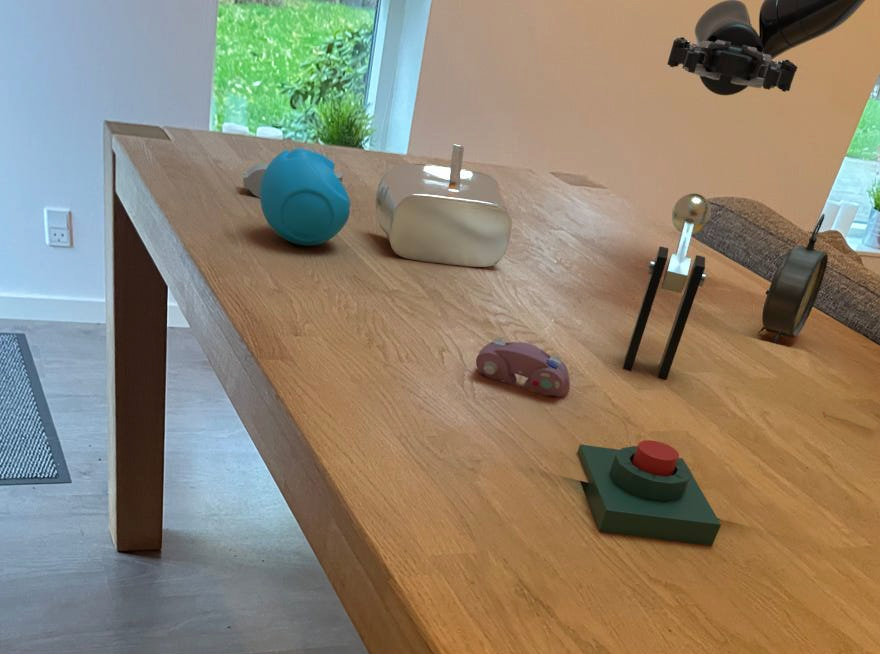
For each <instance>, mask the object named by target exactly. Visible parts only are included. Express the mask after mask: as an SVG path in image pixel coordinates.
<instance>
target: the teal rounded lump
mask: <svg viewBox="0 0 880 654" xmlns="http://www.w3.org/2000/svg"><path fill="white" fill-rule="evenodd" d="M268 165H269V166H268V167H267V169H266V171H265V173H264V175H263V178H262V181H261V188H260V206H261V210H262V214H263V215H264V218H265V220H266V222H267V224H268V225H269V227H270V228H271V229H272V230H273V231H274V232H275V233H276V234H277V235H278V236H279V237H281V238H282V239H284V240H286V241H287V242H289V243H291V244H294V245H298V246H305V247H306V246H307V247H311V246H316V245H321V244H323V243H326V242H328V241H330V240H331V239H333V238H334V237H335V236H337V235H338V234H339V233H340V232H341V230H342V229H343V228H344V226H346V224H347V222H348V220H349V217H350V210H351V209H350V208H351V200H350V197H349V194H348V192H347V190H346V187H345V188H344V187H343V185H342V183H343V182H340V180H339V179H338V178H337V176H336V175H335V166H336V164H335V163H334V161H333V160H331V159H330V158H328V157H327V156H325V155H323V154H321V153H319V152H316V151H314V150H310V149H306V148H301V147H296V148H294V149H292V150H291V151H290V150H288V149H284V150H282V151H281V152H280V153H278V154H277V155H276V156H275V157H274V158H273V159H271V161H270V163H268Z"/></svg>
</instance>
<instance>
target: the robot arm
mask: <svg viewBox="0 0 880 654" xmlns="http://www.w3.org/2000/svg"><path fill="white" fill-rule="evenodd" d="M865 1H866V0H764V1H763V2H762V4H761V6H760V8H759V14H758V31H759V33H758V32H757V30H756V29H755V28H754V27H753V25H752V23H751V22H752V21H751V17H750V14H749V11H748V8H747V6H746V4H745V3H744V2H743V1H740V0H723V1H720V2H717V3H715V4H714V5H712V6H711V7H709V8H708V9H707V10H706V11H705V12H704V13H703V14H701V16H700V18H699V19H698V20H697V21H696V24H695V26H694V35H695V36H694V37H695V40H696V43H692V44H691V41H690V40H688V39H686V37H682V36H680V37H676V38H675V39H674V40H673V42H672V46H671V50H670V53H669V57H668V60H667V63H666V65H668V66H669V67H670V68H675V67H676V68H677V67H679V65H682V68H681V69H683V70H684V71H686V72H688V73H691V74H692V75H696V76H699V79H700V81H701V83H702V84H703V85H704V87H705V88H706V89H707V90H708V91H710V92H711V93H714V94H715V95H718V96H732V95H736V94H738V93H741V92H742V91H744V90H746V89H747V88H748V87H749V88H755V89H761V88H763V89H764V90H769V91H770V90H771V89H775V87H776V88H778V89H779V90H780V91H781V92H784V93H786V92H790V90H791V87H792V83H793V81H794V78H795V75H796V73H797V70H798V66H797V65H796V64H795V63H793V62H792V61H790V59H785V60H779V61H777V60H774V59H776V58H778V57H779V56H781V55H782V54H784V53H787V52H788V51H790V50H791V49H794V48H796V47H799V46H801V45H803V44H805V43H808V42H810V41H813V40H815V39H816V38H819V37H821V36H823V35H825V34H828V33H830V32H832V31H834V30H836V29H837V28H838V27H840V26H841V25H843V24H844V23H845V22H846V21H847V20H849V19H850V18H851V17H852V16H853V15H854V14H855V13H856V12H857V11H858V9H860V8H861V6H862V5H863V4H864V3H865ZM773 60H774V61H773Z"/></svg>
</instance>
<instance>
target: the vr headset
mask: <svg viewBox="0 0 880 654" xmlns="http://www.w3.org/2000/svg"><path fill="white" fill-rule="evenodd" d="M464 151H465V147H464V146H462V145H459V144H455V143H453V144H452V151H451V159H450V167H448V166H440V165H436V164H435V165H434V164H427V163H403V164H399V165H396V166H393V167H391V168H390V169H388V170H387V171H386V172H385V174H384V175H383V176H382V178H381V179H380V182H379V184H378V187H377V191H376V195H375V215H376V220H377V222H378V225H379V227H380V229H381V230H382V231H383V233H384V234H385V235H386V237H387V240H388V242H389V245H390V247H391V249H392V251H393V252H394V253H395V254H396V255H397V256H399V257H401V258H404V259H407V260H413V261H419V262H426V263H427V262H428V263H434V264H442V265H450V266H451V265H452V266H460V267H470V268H471V267H472V268H488V267H493V266H495V265H497V264H498V263H500V261H502V259H503V258H504V256H505V255H506V252H507V249H508V246H509V243H510V238H511V234H512V233H511V232H512V227H513V219H512V215H511V213H510V210H509V209H508V206H507V204H506V202H505V200H504V198H503V195H502V191H501V186H500V184H499V182H498V181H497V180H496V178H494V177H492V176H491V175H488V174H486V173H484V172H480V171H475V170H470V169H463V159H464Z"/></svg>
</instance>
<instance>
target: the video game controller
mask: <svg viewBox="0 0 880 654" xmlns="http://www.w3.org/2000/svg"><path fill="white" fill-rule="evenodd" d="M475 364H476V368H477V371H478V373H479V374H481V375H484V376H486V377H487V378H489V379H491V380H495V381H499V382H502V383H506V384H508V385H511V386H513V385H515V384H516V383H517V382H518V381H517V379H518V378H517V376H516V375H519V376H521V377H525V378H526V380H525V382H524V384H523V386H522V389H523V390H526V391H530V392H532V393H537V394H540V395H543V396H546V397H549V396H553V397H556V398H562V397H565V396H567V395H568V394H569V392H570V388H571V380H570V376H569V375H570V374H569V371H568V368H567V365H566V364H565V363H564V362H563V360H562V358H561V357H560V356H558V355H556V354H555V355H550V354H549V353H547V352H546V351H544V350H543V349H542V348H540V347H538V346H537V345H534V344H531V343H529V342H524V341H520V342H519V341H512V342H511V341H510V342H506V341H505V340H504V339H502V338H500V337H499V338H495V339H494V341H491V342H488V343H487V344H485V345H484V346H483V347H482V348H481V349H480V350H479V352H478V354H477V356H476V359H475Z"/></svg>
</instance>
